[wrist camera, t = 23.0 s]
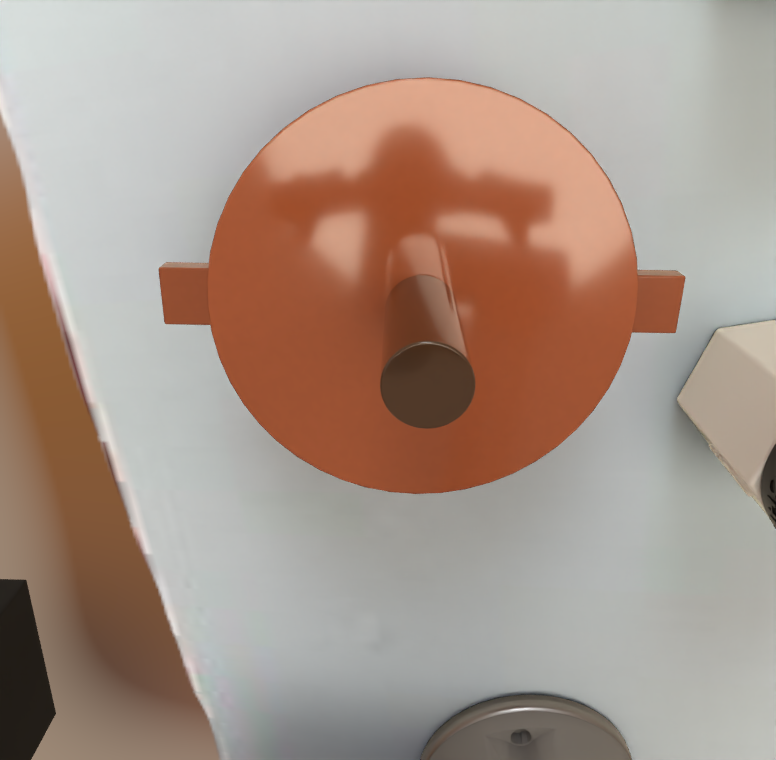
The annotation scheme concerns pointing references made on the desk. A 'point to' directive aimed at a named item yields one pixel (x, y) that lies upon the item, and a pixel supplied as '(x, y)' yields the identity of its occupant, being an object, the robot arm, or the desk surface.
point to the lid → (422, 285)
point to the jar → (739, 406)
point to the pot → (190, 307)
